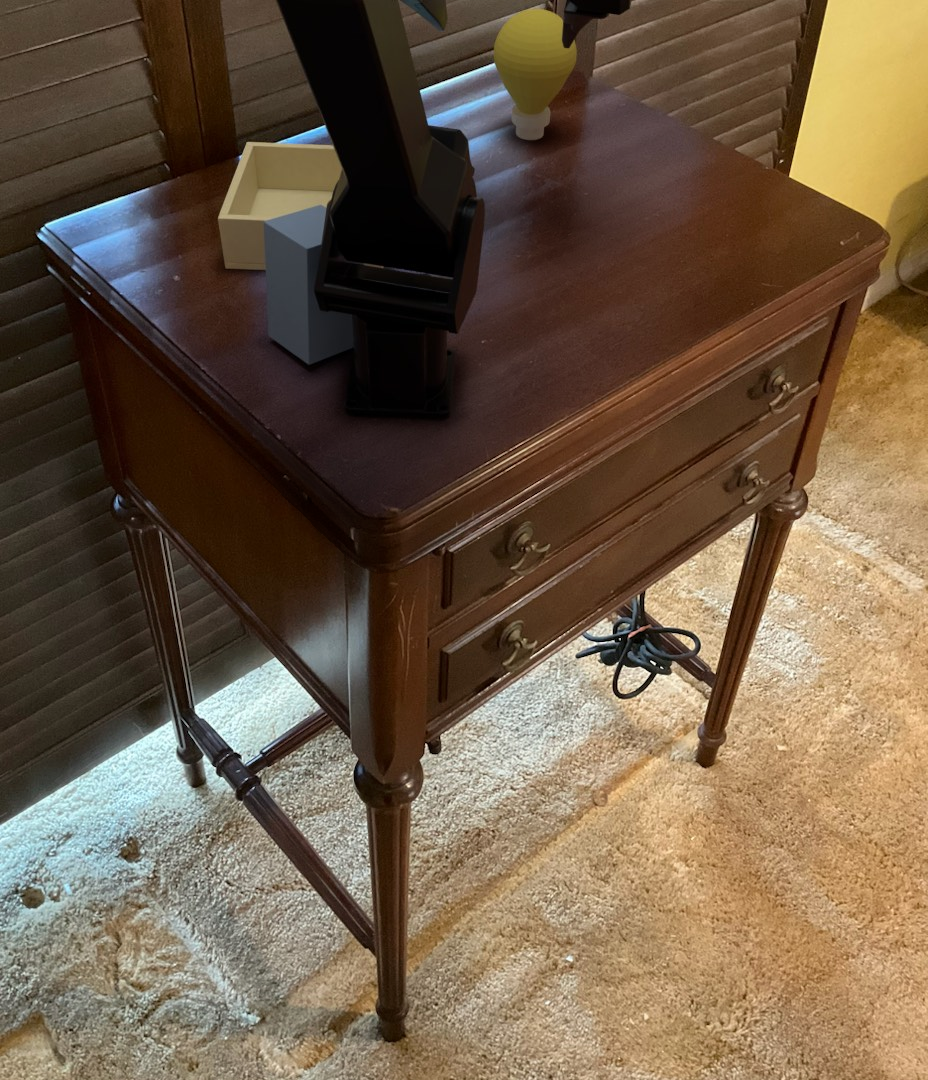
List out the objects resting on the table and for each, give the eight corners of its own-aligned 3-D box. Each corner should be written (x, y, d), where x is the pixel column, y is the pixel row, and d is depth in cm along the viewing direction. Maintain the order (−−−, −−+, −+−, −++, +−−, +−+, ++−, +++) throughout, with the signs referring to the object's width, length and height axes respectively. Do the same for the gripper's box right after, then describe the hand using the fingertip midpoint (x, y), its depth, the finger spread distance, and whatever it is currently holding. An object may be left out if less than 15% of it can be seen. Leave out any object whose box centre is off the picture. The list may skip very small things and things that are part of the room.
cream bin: (382, 275, 79) (380, 224, 76) (225, 268, 79) (217, 218, 76) (395, 196, 87) (394, 147, 84) (253, 190, 87) (246, 141, 84)
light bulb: (534, 160, 91) (543, 35, 84) (474, 133, 94) (477, 11, 87) (585, 133, 95) (597, 11, 87) (525, 108, 98) (532, -11, 90)
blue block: (362, 344, 73) (365, 230, 68) (308, 365, 71) (306, 248, 65) (321, 316, 75) (321, 204, 70) (268, 336, 73) (263, 221, 68)
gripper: (672, -245, 65) (657, -45, 80) (368, -273, 68) (408, -75, 83) (632, -86, 62) (624, 89, 78) (319, -123, 66) (370, 53, 81)
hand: (505, 33), depth 80 cm, fingers open, 9 cm apart
